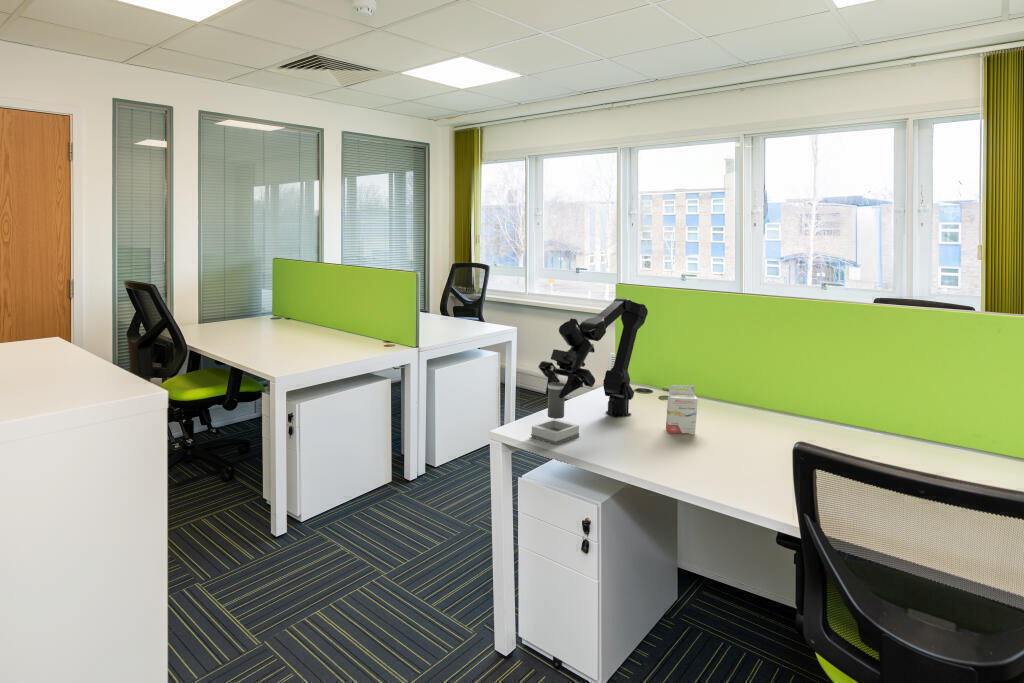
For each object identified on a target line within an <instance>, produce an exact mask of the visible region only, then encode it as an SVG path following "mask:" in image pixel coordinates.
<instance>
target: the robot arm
mask: <svg viewBox="0 0 1024 683" xmlns="http://www.w3.org/2000/svg"><path fill="white" fill-rule="evenodd" d="M648 312H649V310H648V308H647V307H646V305H645V304H643V303H639V302H635V301H632V300H631V299H629V298H624V297H623V298H622V297H616V298H614V299H613V302H611V303H610V304H609V305H608V306H607V307H606V308H605V309H603V310H602V311H601V312H600V313H598V314H597V315H596V316H595V317H594V316H593V317H590V318H587V319H585V320H583V321H582V322H581V323H579V322H578V320H577V318H570V319H569V320H567V321H565V322H563V323H562V324H561V325H560V326H559V328H558V333H559V335H560V336H561V337H562V339H563V341H565V343H566V344H567V346H569V347H570V348H569V349H568V350H559V349H553V350H552V352H551V356H550V360H552V361H555V362H556V363H555V364H556V365H557V366H558V367H559V368H558V367H556V366H555V364H554V363H553V362H551V361H546V360H544V361H543V360H542V361H541V362H540V363H539V365H538V366H537V367H538V369H539V370H540V371H541V373H542V374H543V376H544V377H546V378H547V381H546V382H547V383H546V390H545V395H546V396H548V383H552V382H560V383H561V380H560V379H559V376H563V377H567V380H566V382H565V383H564V384H565V386H564V388H563V389H562V391H561V393H560V396H559V397H560V398H561V399H562V398H563V397H566V396H568V395H570V394H571V393H573V392H575V391H577V389H580V388H584V386H586V387H588V388H593V387H594V385H595V383H596V378H595V377H594V375H593V374H592V372H591V371H590V370H589V369H587V368H585V366H586V363H585V361H586V359H587V357H588V355H589V353H593V354H594V353H595V351H596V350H595V348H594V343H591V341H592V342H599V341H600V340H602V339H603V337H604V336H605V335H606V334H607V328H608V327H609V326H610V325H611V324H612V323H614V322H615V321H616V320H617V319H618V318H619V317H620V320H621V322H622V323H621V324H622V331H621V335H620V339H619V343H618V345H617V346H618V347H617V351H616V354H615V358H614V362H613V367H612V368H611V369H608V370H606V372H605V374H604V379H603V381H602V382H603V384H602V386H603V390H604V395H605V397H608V402H607V410H606V411H605V414H608V415H610V416H613V417H615V418H623V417H627V416H628V417H629V416H632V413H631V412H629V407H630V401H631V400H632V399H634V395H635V390H634V389H633V388H632V387H631V385H630V383H631V377H630V374H629V366H630V361H631V358H632V353H633V351H634V346H635V342H636V338H637V333H638V330H639V329H640V328H641V327H642V326H643V325H644V324H645V321H646V320H647V316H648ZM582 367H583V368H582Z"/></svg>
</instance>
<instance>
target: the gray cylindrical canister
mask: <svg viewBox="0 0 1024 683" xmlns="http://www.w3.org/2000/svg"><path fill="white" fill-rule="evenodd" d="M565 384H566V383H564V382H561V381H560V382H552V383H548V395H547V417H548V418H550V419H558V420H560V419H563V418H564V417H565V400H566V398H565V397H566V396H565V397H563V398H562V399H561V398H560V397H559V396H560V393H561V391H562V389H563V388H564V386H565Z"/></svg>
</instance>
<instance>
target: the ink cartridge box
mask: <svg viewBox="0 0 1024 683" xmlns="http://www.w3.org/2000/svg"><path fill="white" fill-rule="evenodd" d="M668 388H669V389H668V394H667V405H666V406H667V407H666V420H665V421H666V422H665V429H666V431H667V433H668V434H676V433H689V434H688V435H696V428H697V427H696V426H697V416H698V415H697V414H698V402H699V401H698V400H699V399H698V397H697V396H696V395H695V391H696V386H695V385H687V384H685V385H684V384H669V386H668ZM679 389H683V390H679ZM692 433H693V434H692Z"/></svg>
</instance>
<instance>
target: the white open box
mask: <svg viewBox="0 0 1024 683" xmlns="http://www.w3.org/2000/svg"><path fill="white" fill-rule="evenodd" d="M531 436H532V437H531ZM530 437H531V438H533V437H535V438H534V439H536V438H538V439H537V440H539V439H541V440H540V441H542V440H544V441H543V442H545V441H547V442H546V443H548V442H550V443H549V444H552V445H555V446H557V445H560V444H563V443H565V442H568V441H571V440H574V439H577V438H579V437H580V425H578V424H575V423H571V422H568V421H565V420H562V419H554V418H552V419H550V420H547V421H544V422H541V423H537V424H534V425H532V426H531V434H530Z"/></svg>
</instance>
